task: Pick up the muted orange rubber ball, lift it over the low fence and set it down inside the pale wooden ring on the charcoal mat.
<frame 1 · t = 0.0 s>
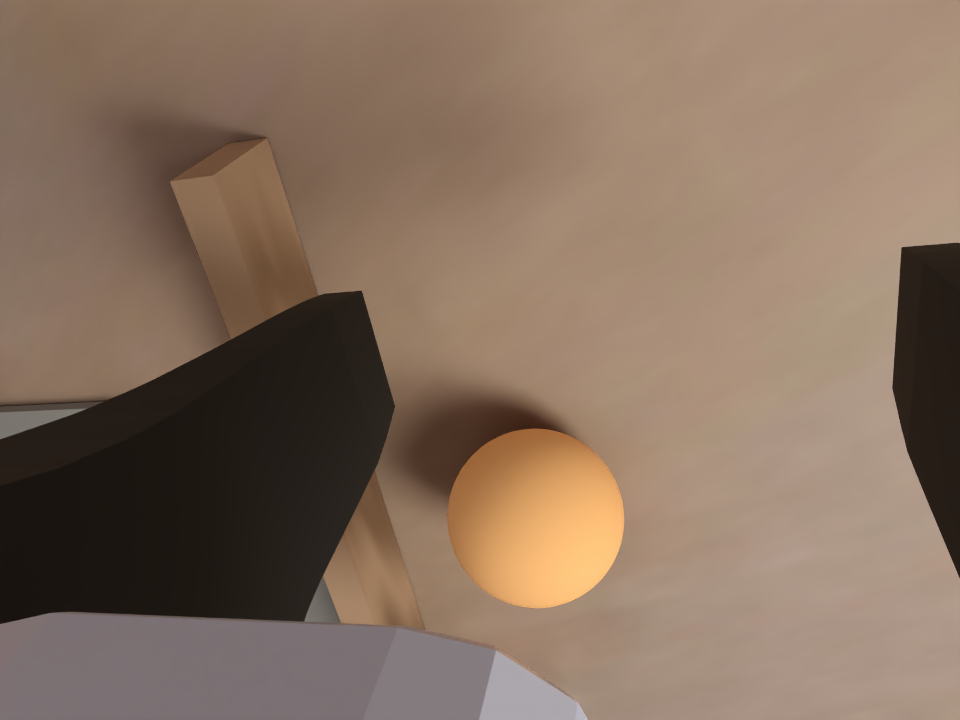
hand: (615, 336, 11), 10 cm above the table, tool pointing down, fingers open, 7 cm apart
ball: (535, 516, 24), point 2 cm above the table
cradle: (158, 552, 32), on the table
fence: (355, 466, 27), on the table
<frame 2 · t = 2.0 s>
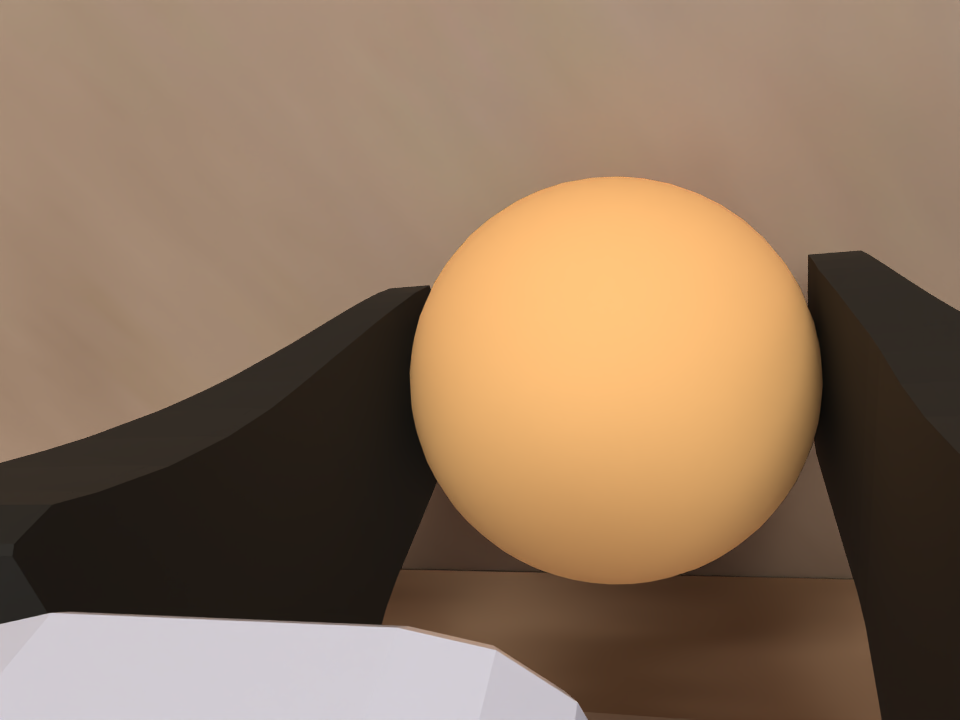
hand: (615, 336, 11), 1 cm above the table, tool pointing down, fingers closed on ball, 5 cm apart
ball: (608, 379, 10), point 2 cm above the table, touching gripper
fence: (658, 598, 16), on the table
when the fingers open (2 cm above the table, at t = 6.0 s): ball stays where it is, resting on cradle.
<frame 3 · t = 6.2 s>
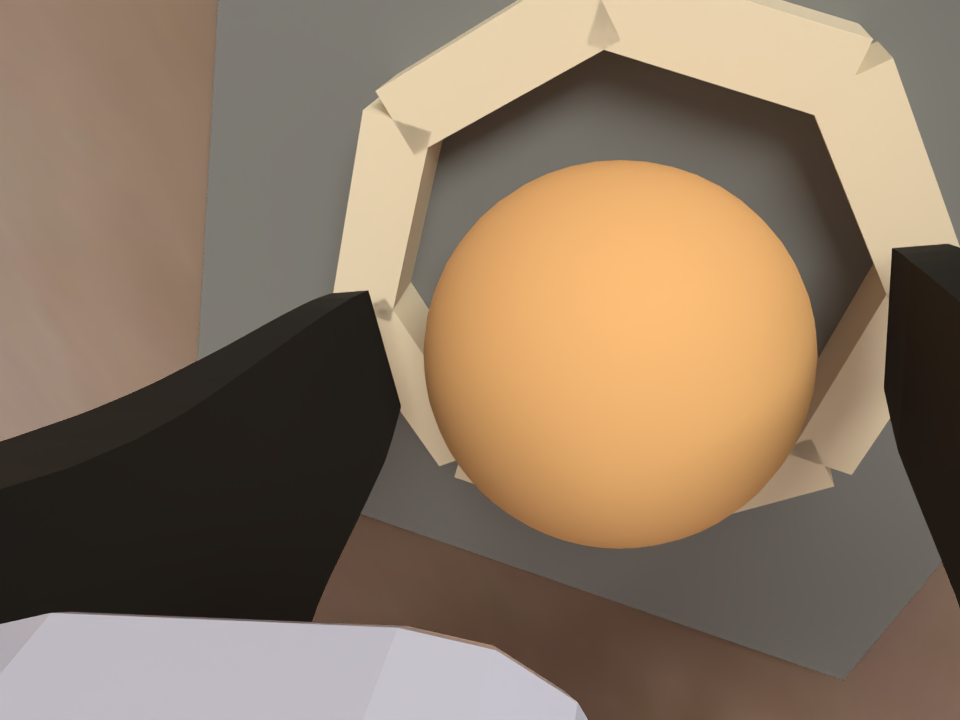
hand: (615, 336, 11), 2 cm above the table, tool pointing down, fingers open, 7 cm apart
ball: (613, 354, 11), point 3 cm above the table, touching cradle
cradle: (627, 262, 13), on the table
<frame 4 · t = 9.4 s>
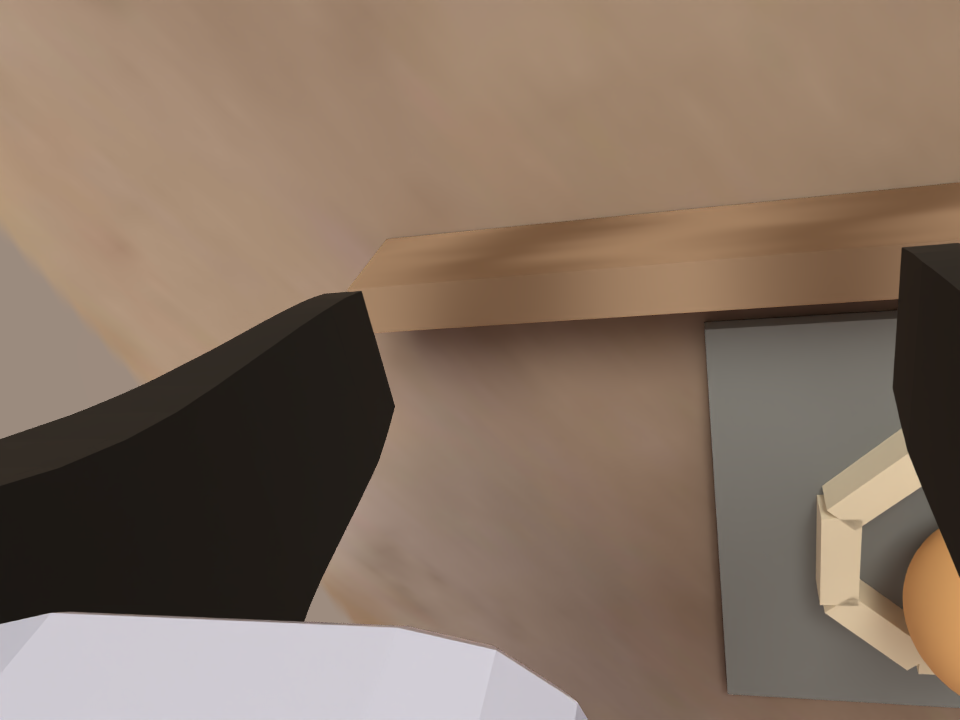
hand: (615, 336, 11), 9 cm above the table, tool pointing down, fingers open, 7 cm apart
fence: (832, 219, 19), on the table
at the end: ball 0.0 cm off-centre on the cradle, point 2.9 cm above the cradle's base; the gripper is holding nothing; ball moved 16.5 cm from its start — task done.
